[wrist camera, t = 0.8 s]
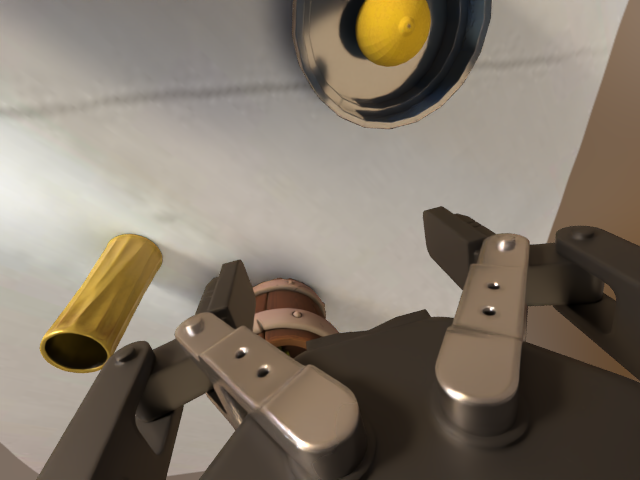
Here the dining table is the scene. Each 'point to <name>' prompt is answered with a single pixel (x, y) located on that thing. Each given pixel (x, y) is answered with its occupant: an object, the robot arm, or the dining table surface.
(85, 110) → the dining table surface
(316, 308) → the flowerpot
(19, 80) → the dining table surface
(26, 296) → the dining table surface
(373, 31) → the lemon
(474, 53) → the bowl
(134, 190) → the dining table surface
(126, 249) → the vase
